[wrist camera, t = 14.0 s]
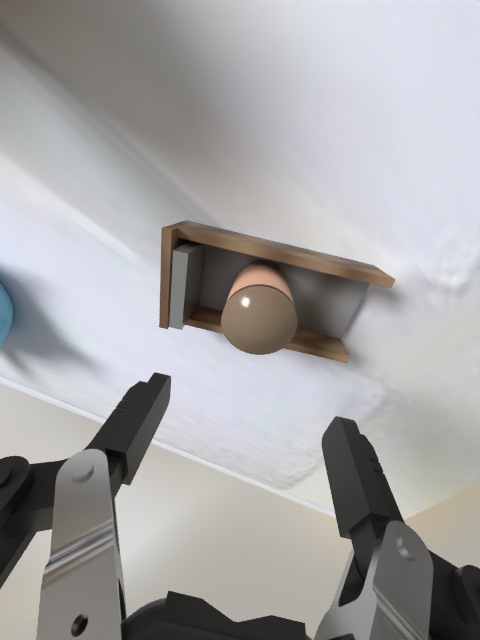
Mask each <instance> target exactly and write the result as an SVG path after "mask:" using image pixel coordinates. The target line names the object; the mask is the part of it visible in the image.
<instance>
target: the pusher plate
mask: <svg viewBox="0 0 480 640" xmlns="http://www.w3.org/2000/svg"><path fill="white" fill-rule="evenodd" d="M205 251H206V244H203V243H199V242H195V241H191V240H190V241H189V242H187V243H185V244H183V245H182V246H180V247H178V248H176V249H175V250H173V264H172V284H171V303H170V323H169V327H172V328H176V329H181V330H182V329H183V327H184V325H185V324H186V322H187V321H188V319H189V318H190V316H191V315H192V313H193V311H194V310H195V308H196V307H197V305H198V304H199V299H200V291H201V283H202V275H203V267H204V259H205Z"/></svg>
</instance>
